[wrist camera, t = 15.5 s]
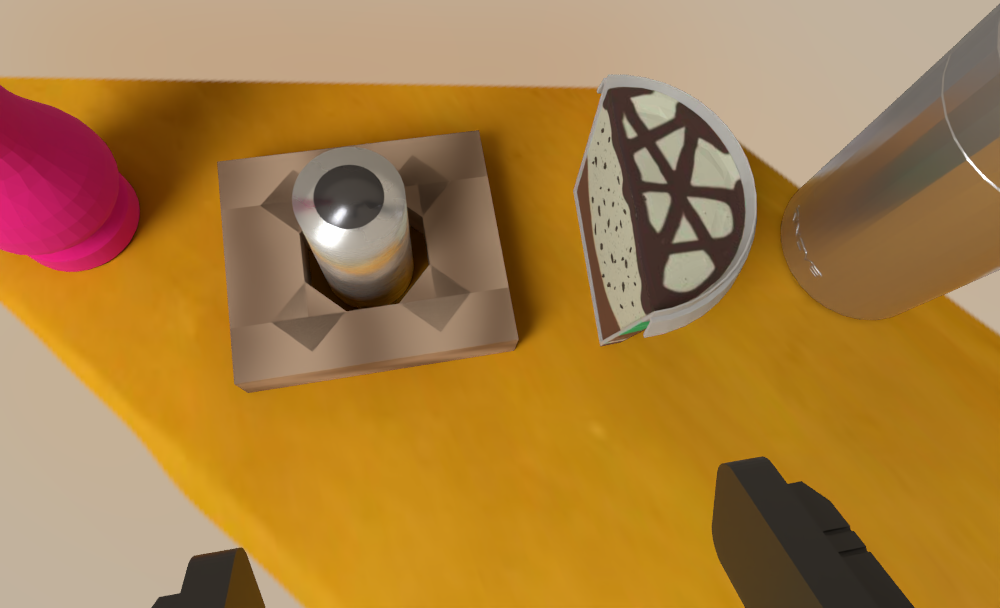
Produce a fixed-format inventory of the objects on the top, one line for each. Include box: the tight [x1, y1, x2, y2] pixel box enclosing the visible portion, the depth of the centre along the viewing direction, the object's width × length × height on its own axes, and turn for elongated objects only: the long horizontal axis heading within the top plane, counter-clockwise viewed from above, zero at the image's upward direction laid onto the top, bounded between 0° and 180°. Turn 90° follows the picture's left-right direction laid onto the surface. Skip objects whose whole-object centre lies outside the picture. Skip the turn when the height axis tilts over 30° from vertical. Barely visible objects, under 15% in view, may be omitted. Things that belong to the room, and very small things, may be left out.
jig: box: [217, 130, 519, 393], centre depth 38 cm, size 14×12×2 cm
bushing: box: [292, 147, 414, 309], centre depth 35 cm, size 5×5×9 cm
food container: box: [573, 75, 757, 346], centre depth 36 cm, size 12×6×10 cm, turn 7°
